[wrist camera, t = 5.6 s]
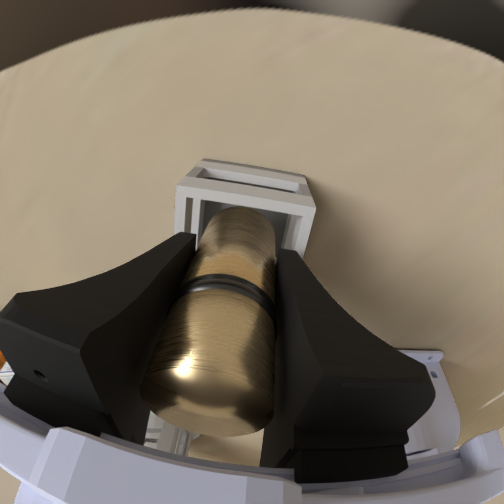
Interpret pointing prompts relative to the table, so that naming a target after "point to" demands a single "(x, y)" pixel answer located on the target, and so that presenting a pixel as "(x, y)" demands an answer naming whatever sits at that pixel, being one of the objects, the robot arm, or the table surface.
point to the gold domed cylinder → (220, 333)
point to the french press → (168, 436)
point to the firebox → (246, 200)
